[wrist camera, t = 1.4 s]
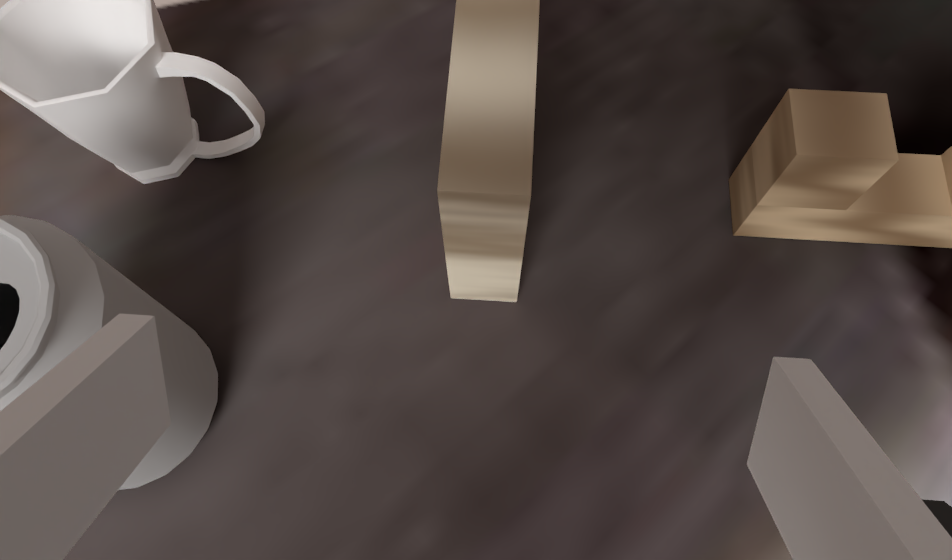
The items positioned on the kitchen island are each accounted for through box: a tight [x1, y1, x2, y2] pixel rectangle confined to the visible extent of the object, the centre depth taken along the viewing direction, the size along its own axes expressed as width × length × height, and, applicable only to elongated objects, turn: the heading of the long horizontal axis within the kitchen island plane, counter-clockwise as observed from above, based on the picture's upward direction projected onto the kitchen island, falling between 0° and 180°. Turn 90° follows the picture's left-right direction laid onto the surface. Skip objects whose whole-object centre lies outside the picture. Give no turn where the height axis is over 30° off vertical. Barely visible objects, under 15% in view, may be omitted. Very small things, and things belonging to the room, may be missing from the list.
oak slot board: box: [729, 89, 952, 248], centre depth 29 cm, size 12×3×7 cm, turn 86°
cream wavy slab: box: [437, 0, 540, 302], centre depth 29 cm, size 12×3×10 cm, turn 176°
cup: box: [0, 0, 265, 184], centre depth 30 cm, size 7×10×8 cm
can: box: [0, 215, 218, 490], centre depth 24 cm, size 8×8×12 cm
